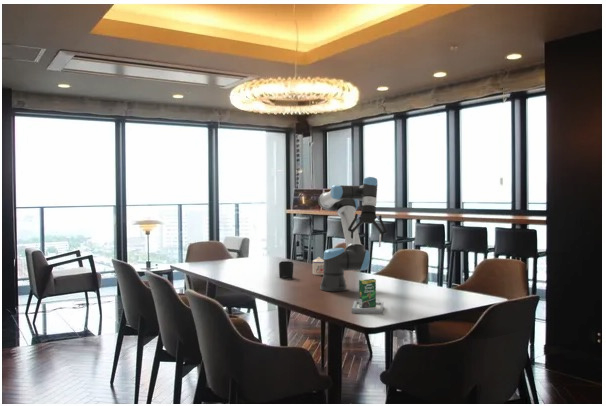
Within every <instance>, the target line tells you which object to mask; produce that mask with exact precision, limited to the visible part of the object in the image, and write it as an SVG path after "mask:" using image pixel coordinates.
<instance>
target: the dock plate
mask: <svg viewBox="0 0 606 406" xmlns="http://www.w3.org/2000/svg"><path fill="white" fill-rule="evenodd" d="M351 313H352V314H365V315H366V314H367V315H383V314H384V302H383V301H381V302H379V301H376V307H369V308H360V307H359V300H357V301H356V300H354V302H353V305H352V307H351Z"/></svg>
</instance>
